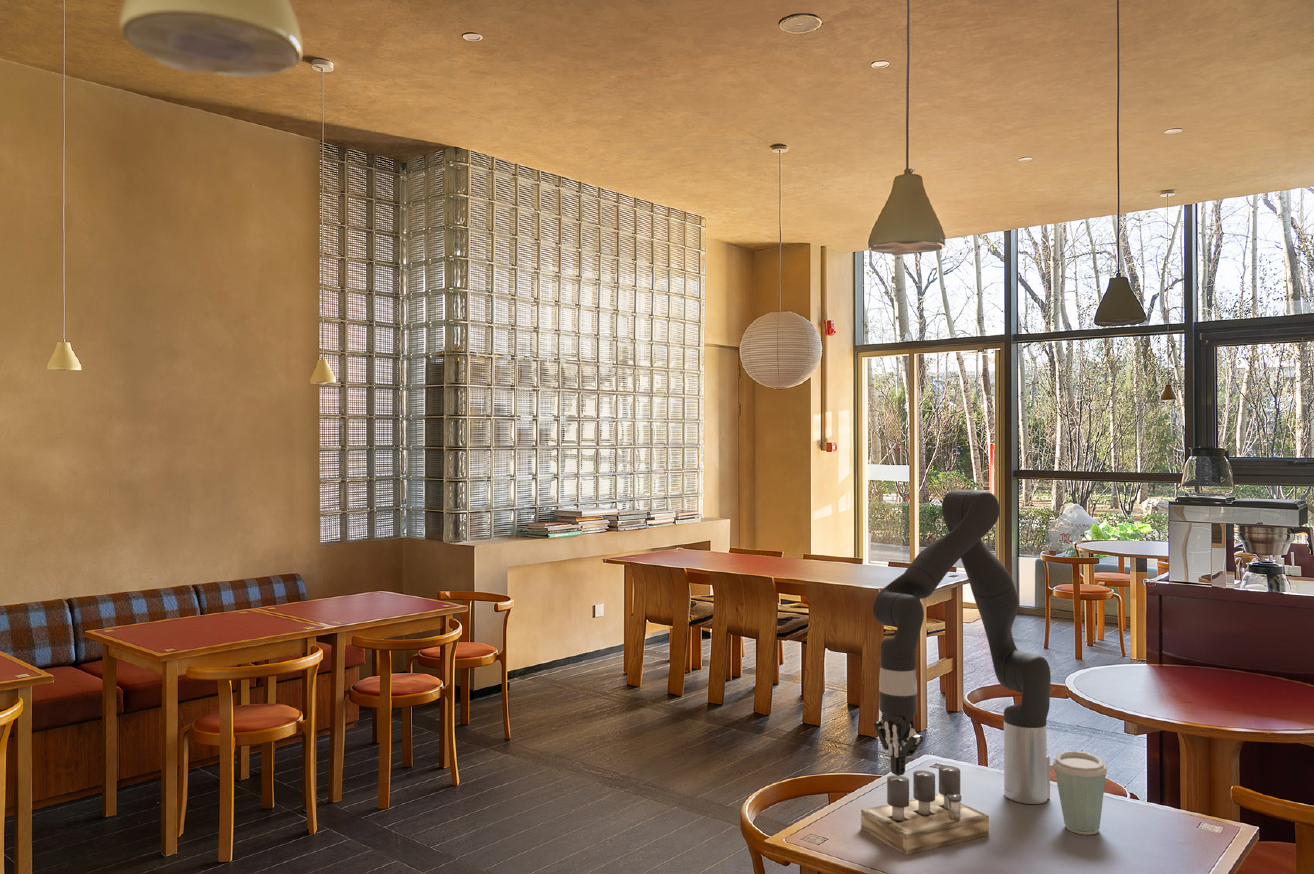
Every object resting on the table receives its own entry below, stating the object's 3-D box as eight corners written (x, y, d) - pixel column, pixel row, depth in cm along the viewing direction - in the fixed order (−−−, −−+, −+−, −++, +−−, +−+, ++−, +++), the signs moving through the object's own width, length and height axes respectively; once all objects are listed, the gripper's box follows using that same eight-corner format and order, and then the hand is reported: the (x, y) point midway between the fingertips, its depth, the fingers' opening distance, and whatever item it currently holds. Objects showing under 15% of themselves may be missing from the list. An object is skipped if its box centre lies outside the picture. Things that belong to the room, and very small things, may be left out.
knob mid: (925, 807, 192) (924, 768, 192) (939, 814, 188) (939, 774, 188) (909, 810, 190) (908, 771, 190) (923, 817, 186) (923, 778, 186)
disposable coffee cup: (1115, 841, 185) (1114, 767, 185) (1059, 836, 187) (1058, 763, 187) (1100, 821, 195) (1099, 751, 195) (1047, 817, 197) (1047, 748, 198)
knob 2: (949, 801, 195) (949, 763, 195) (965, 808, 191) (964, 770, 191) (934, 805, 193) (934, 766, 193) (949, 812, 189) (949, 773, 190)
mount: (940, 811, 200) (940, 793, 200) (988, 835, 188) (988, 815, 188) (861, 828, 191) (861, 809, 191) (906, 854, 178) (906, 834, 178)
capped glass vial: (954, 814, 188) (954, 792, 188) (964, 819, 186) (964, 796, 186) (944, 817, 187) (944, 794, 187) (954, 821, 184) (954, 798, 184)
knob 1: (899, 812, 189) (899, 773, 189) (913, 820, 185) (913, 780, 185) (882, 816, 187) (882, 776, 187) (897, 823, 183) (896, 783, 183)
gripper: (934, 695, 183) (934, 781, 182) (890, 680, 194) (890, 761, 194) (905, 699, 179) (905, 787, 179) (862, 684, 191) (862, 766, 191)
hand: (897, 773), depth 186 cm, fingers closed
